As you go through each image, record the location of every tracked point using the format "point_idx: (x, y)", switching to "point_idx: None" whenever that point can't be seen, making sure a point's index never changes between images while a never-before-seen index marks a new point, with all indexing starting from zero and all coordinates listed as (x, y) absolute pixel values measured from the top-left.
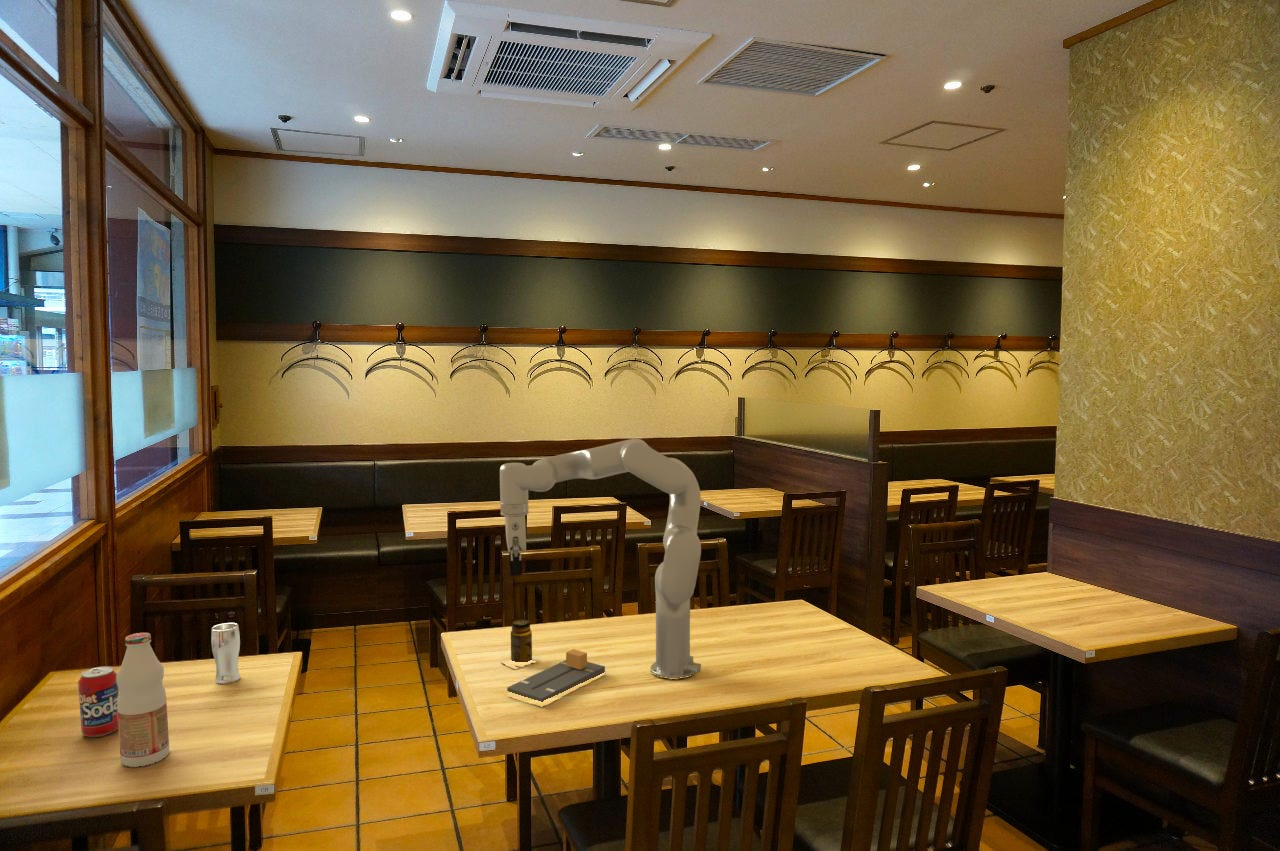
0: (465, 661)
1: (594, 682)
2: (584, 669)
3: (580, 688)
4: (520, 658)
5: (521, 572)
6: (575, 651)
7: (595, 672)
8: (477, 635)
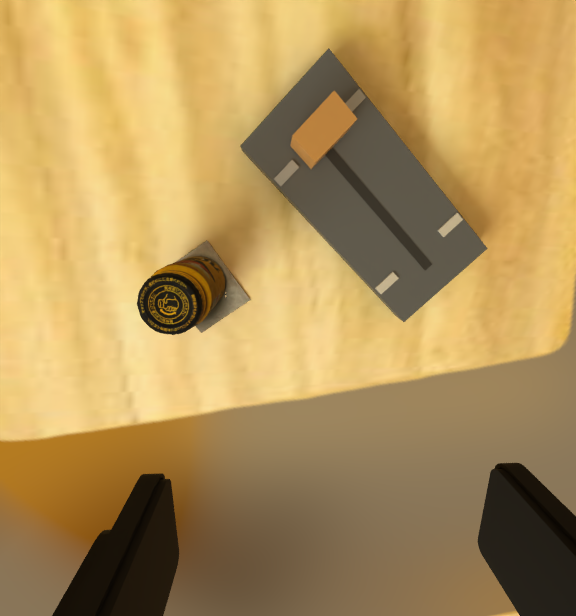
0: (181, 402)
1: None
2: None
3: None
4: (223, 288)
5: (533, 482)
6: (314, 129)
7: (356, 86)
8: (4, 384)
